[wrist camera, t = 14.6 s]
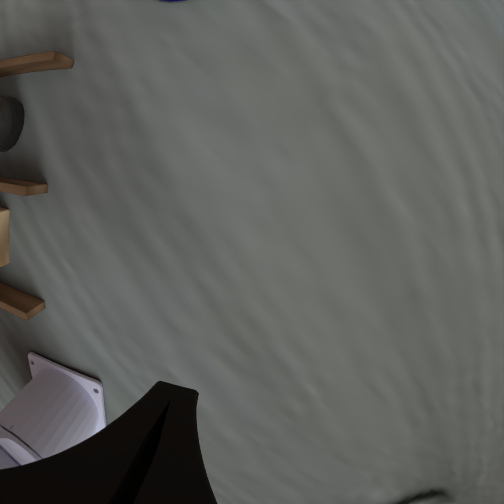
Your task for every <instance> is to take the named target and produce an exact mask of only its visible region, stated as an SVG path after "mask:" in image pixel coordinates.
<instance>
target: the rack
mask: <svg viewBox="0 0 504 504" xmlns="http://www.w3.org/2000/svg"><path fill="white" fill-rule="evenodd" d="M73 63H74V60H72V59H70V58H68V57H66V56H64V55H62V54H60V53H58V52H56V51H51V52H45V53H38V54H32V55H27V56H21V57H16V58H12V59H7V60H3V61H0V77H2V76H8V75H14V74H21V73H28V72H36V71H45V70H55V69H68V68H72V66H73ZM47 188H48V184H43V183H37V182H31V181H25V180H19V179H12V178H6V177H0V191H2V192H7V193H12V194H17V195H22V196H29V195H35V194H42V193H47ZM0 308H2V309H4V310H6V311H8V312H10V313H12V314H14V315H17V316H19V317H21V318H23V319H25V320H29V319H30V318H32V317H33V316H34V315H36V314H37V313H39V312H40V311H41V310H43V309H44V308H45V301H43V300H40V299H38V298H35V297H33V296H30V295H28V294H26V293H23V292H21V291H19V290H16V289H14V288H12V287H9V286H7V285H5V284H3V283H0Z"/></svg>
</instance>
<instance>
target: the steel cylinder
mask: <svg viewBox="0 0 504 504" xmlns="http://www.w3.org/2000/svg"><path fill="white" fill-rule="evenodd" d="M23 125H24V108H23V105H22V103H21V102H20V101H19V100H18V99H15V98H11V97H6V96H1V95H0V152H5V151H8V150H10V149H11V148H12V147H13V146H14V145H15V144H16V142H17V141H18V139H19V137H20V135H21V132H22V129H23Z"/></svg>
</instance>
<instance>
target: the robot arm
mask: <svg viewBox="0 0 504 504" xmlns="http://www.w3.org/2000/svg"><path fill="white" fill-rule="evenodd" d="M28 360H29V365H30V370H31V374H32V380H31V381H30V382H29V383H28V384H27V385H26V386H25V387H24V388H23V389H22V390H21V391H20V392H19V393H18V394H17V395H16V396H15V397H14V398H13V399H12V400H11V401H10V402H9V404H8V405H7V406H6V407H5V408H4V409H3V410H2V411H1V412H0V504H217V502H216V499H215V497H214V494H213V491H212V489H211V486H210V483H209V480H208V477H207V474H206V470H205V467H204V463H203V459H202V455H201V450H200V445H199V438H198V431H197V419H196V407H197V401H198V395H199V393H198V392H197V391H196V390H193V389H189V388H185V387H181V386H178V385H174V384H170V383H166V382H163V381H159V382H157V383H156V384H155V385H154V386H153V387H152V388H151V389H150V390H149V391H148V392H147V393H146V394H145V395H144V396H143V397H142V398H141V399H140V400H139V401H138V402H136V403H135V404H134V405H133V406H132V407H131V408H129V409H128V410H127V411H126V412H125V413H123V414H122V415H121V416H120V417H118V418H117V419H116V420H114V421H113V422H112V423H110V424H109V425H107V426H106V419H105V410H104V400H103V389H102V384H101V383H100V382H99V381H98V380H95V379H93V378H90V377H88V376H85V375H83V374H80V373H78V372H75V371H73V370H70V369H68V368H66V367H63V366H61V365H59V364H57V363H54V362H52V361H50V360H48V359H46V358H44V357H41V356H39V355H37V354H35V353H33V352H30V353H29V354H28ZM96 389H97V390H96Z"/></svg>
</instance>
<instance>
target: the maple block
mask: <svg viewBox="0 0 504 504" xmlns="http://www.w3.org/2000/svg"><path fill="white" fill-rule="evenodd" d="M9 215H10V210H9V209H5V208H1V207H0V267H2V266H5V265H7V264H9Z"/></svg>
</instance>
